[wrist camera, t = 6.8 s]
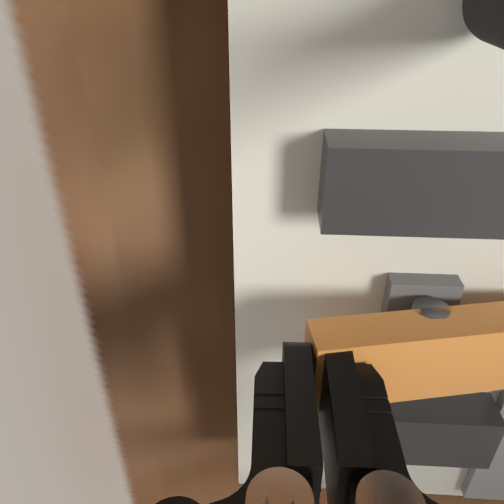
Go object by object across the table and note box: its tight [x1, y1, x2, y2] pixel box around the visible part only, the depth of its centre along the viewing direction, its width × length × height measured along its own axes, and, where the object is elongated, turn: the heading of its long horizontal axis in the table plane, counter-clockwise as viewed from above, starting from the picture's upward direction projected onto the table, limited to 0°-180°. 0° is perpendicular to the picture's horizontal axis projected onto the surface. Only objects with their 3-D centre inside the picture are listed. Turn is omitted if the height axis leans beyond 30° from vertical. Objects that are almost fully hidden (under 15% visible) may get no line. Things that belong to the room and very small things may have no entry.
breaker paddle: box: [304, 296, 504, 411], centre depth 13 cm, size 2×7×2 cm, turn 90°
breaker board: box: [228, 0, 504, 500], centre depth 15 cm, size 19×11×4 cm, turn 0°
